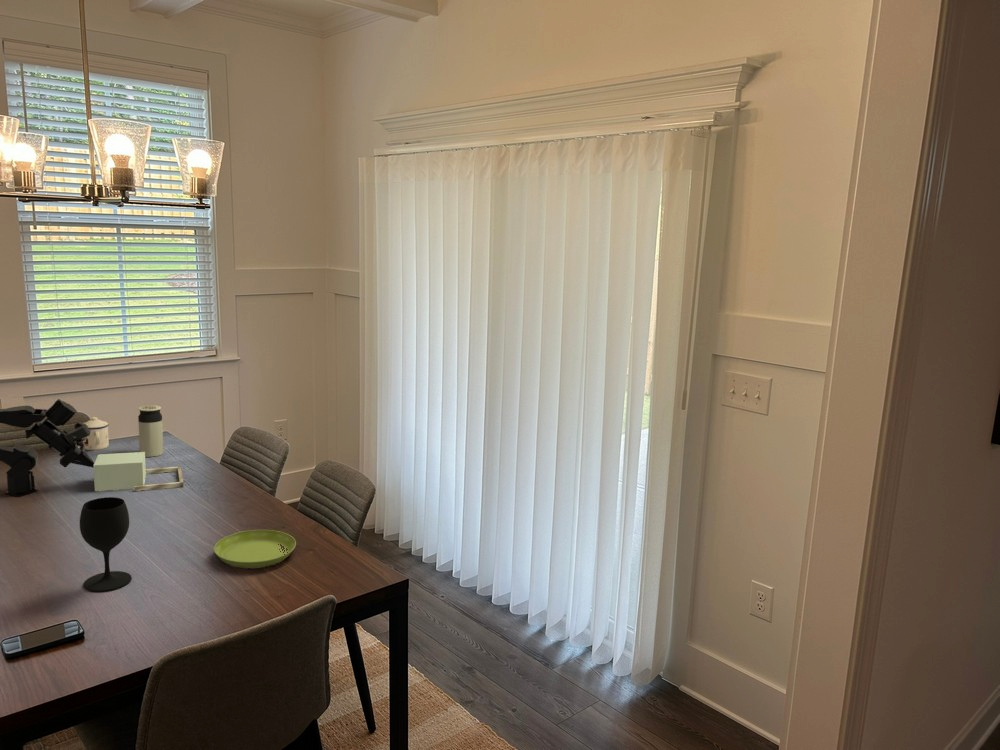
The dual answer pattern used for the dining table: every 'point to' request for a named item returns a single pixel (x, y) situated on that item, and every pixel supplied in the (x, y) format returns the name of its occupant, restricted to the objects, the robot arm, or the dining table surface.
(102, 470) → the sage box
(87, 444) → the teacup with lid
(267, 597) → the dining table surface
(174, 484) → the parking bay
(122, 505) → the wine glass
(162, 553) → the dining table surface
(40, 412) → the robot arm
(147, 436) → the travel mug
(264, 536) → the saucer
